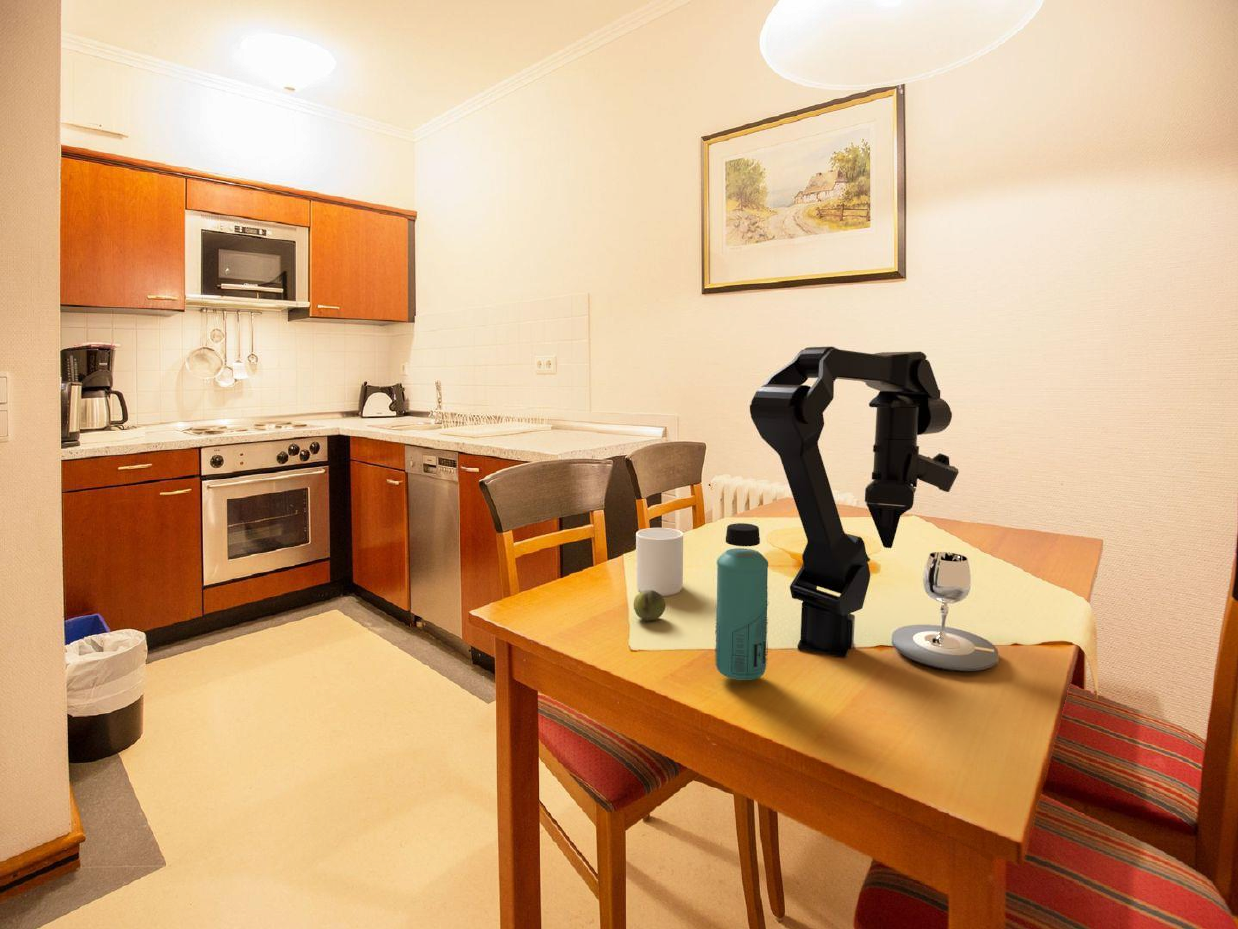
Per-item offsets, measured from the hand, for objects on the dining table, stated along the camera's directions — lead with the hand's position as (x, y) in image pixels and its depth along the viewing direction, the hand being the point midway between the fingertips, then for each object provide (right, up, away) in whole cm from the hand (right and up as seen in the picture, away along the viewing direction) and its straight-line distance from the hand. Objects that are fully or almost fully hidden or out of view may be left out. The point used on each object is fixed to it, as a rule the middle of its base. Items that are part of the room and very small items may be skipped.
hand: (889, 540), depth 98 cm
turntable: (+3, -15, -10) cm, 18 cm away
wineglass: (+3, -13, -9) cm, 16 cm away
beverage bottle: (-26, -16, -16) cm, 34 cm away
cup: (-34, -11, +19) cm, 40 cm away
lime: (-36, -13, +3) cm, 39 cm away
